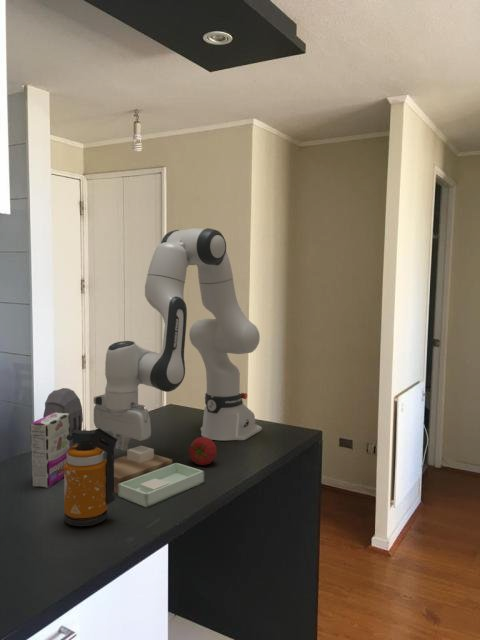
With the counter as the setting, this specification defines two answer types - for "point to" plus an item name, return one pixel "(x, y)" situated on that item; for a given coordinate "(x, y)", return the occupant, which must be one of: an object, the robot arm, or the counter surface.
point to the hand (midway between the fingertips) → (121, 449)
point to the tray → (178, 482)
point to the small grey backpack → (66, 408)
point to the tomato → (202, 451)
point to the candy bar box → (49, 449)
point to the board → (136, 468)
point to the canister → (89, 477)
